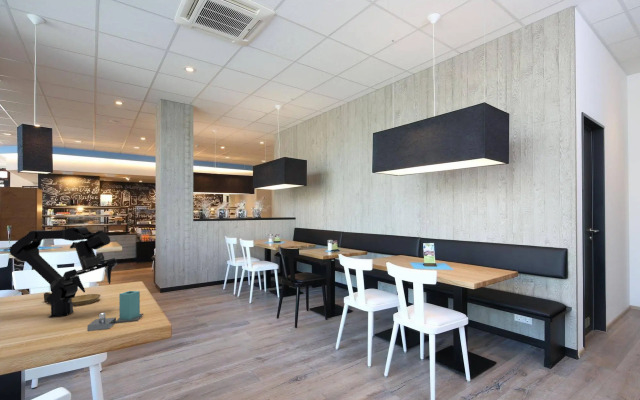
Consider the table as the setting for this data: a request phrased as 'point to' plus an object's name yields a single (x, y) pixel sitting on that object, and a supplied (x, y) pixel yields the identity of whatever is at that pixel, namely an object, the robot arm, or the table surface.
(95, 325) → the steel stand
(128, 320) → the rubber mat
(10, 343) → the table surface
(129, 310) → the teal sleeve
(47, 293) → the hand tool
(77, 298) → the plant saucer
